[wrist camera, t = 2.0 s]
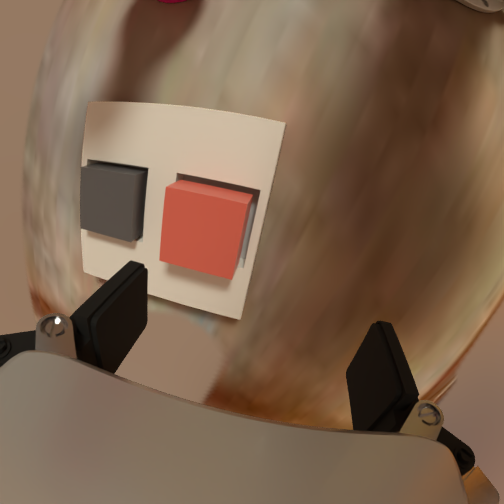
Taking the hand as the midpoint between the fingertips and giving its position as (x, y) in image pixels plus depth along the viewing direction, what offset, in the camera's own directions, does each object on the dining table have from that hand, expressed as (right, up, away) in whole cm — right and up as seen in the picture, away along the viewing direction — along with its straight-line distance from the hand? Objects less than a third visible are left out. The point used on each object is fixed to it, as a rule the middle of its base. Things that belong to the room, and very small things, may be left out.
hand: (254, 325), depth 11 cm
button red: (-3, +5, +8) cm, 10 cm away
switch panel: (-6, +7, +11) cm, 15 cm away
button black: (-11, +7, +10) cm, 16 cm away
